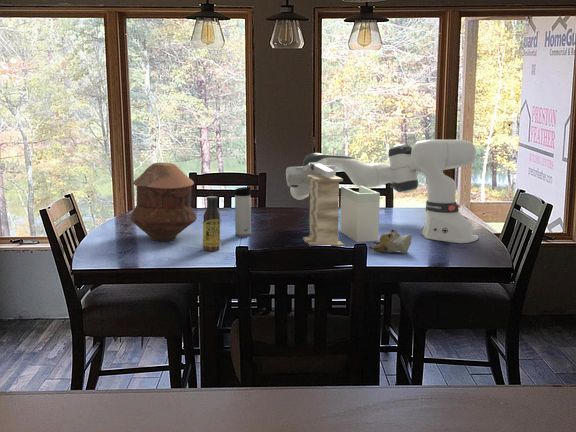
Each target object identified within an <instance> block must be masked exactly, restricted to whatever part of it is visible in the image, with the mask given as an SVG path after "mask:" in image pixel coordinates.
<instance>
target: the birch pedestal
mask: <svg viewBox="0 0 576 432" xmlns="http://www.w3.org/2000/svg"><path fill="white" fill-rule="evenodd" d="M307 178H309V179H310V196H309V235H308V236H302V240H304V242H305V244H307V243H308V244H310V245H331V246H345V247H346V244H345V243H343V242H342V241H341V240H339V213H340V212H339V209H340V207H339V206H340V203H339V201H340V196H339V195H340V183H341V182H344V178H342V177H340V176H337V175H336V174H335V175H334V177H327V178H326V177H324V176H322V175H321V174H316V175H307ZM308 244H307V245H308ZM310 245H309V246H310Z"/></svg>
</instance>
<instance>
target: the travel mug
mask: <svg viewBox="0 0 576 432" xmlns="http://www.w3.org/2000/svg"><path fill="white" fill-rule="evenodd" d="M251 190H252V186H245V187H238V188H235V189H234V215H235V216H234V221H235V222H234V224H235V227H234V228H235V229H234V232H235V236H236V237H237V238H248V237H251V235H252V230H251V229H252V221H251V219H252V217H251V213H252V212H251V211H252V210H251V209H252V208H251V207H252V204H251V203H252V201H251V200H252V199H251Z"/></svg>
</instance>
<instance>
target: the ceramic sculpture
mask: <svg viewBox="0 0 576 432" xmlns="http://www.w3.org/2000/svg"><path fill="white" fill-rule="evenodd" d="M412 234H413V233H410V234H407V235H402V234H400V232H398V231H396V230H394V229H391V231H390V232H385V233H382V235H381V236H380V237H379V239H378V241H373V244H374V245H372V246H368V249H370V250H372V251H373V252H374V251H375V252H377V253H381V252H385V253H389V254H390V253H395V252H396V253H397V252H399V253H401V254H404V255H405V254H407V253H408V251H409V248H410V246H411V244H412V237H413V235H412Z"/></svg>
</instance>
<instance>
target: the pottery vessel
mask: <svg viewBox="0 0 576 432" xmlns="http://www.w3.org/2000/svg"><path fill="white" fill-rule="evenodd" d="M132 184H133V186H135V187H136V205H135V207H134V209H133V210H132V212H131V215H130V221H131V222H132V223H133V224H134V225H135V226H137V227H138V228H139V229H140V230H141V231H143V232H144V233H145V234H146V235H147V236H148V237H150V239H151V240H153V241H157V242H166V241H168V242H169V241H173V240H175V239H176V238H177V236H178V235H179V234H180V233H182V232H183V231H184V230H185V229H187V228H188V227H189V226H190V225H192V224H193V223H195V222H196V221H197V215H196V212H195V210H194V209H193V208H192V206H191V200H192V199H191V198H192V186H193V185H194V184H195V182H194V180H193V179H191V178H190V177H189V176H188V175H187V174H186V173H185V172H184V171H183V170H181V169H180V168H179V167H178V166H177V165H176V164H174V163H173V162H172V163H170V162H153V163H152V164H150V165H149V166H148V167H147V168H146V169H145V170H144V172H143V173H141V175H140V176H139V177H137V178H135V179H134V180H133V181H132Z"/></svg>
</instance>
